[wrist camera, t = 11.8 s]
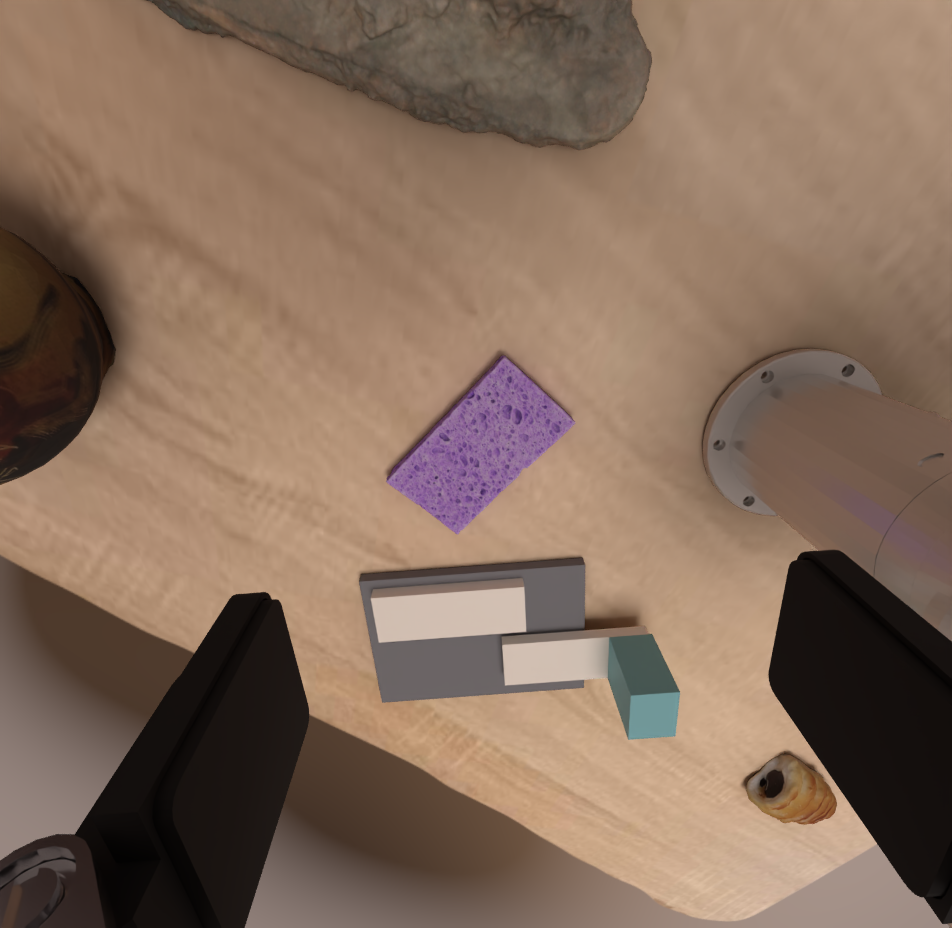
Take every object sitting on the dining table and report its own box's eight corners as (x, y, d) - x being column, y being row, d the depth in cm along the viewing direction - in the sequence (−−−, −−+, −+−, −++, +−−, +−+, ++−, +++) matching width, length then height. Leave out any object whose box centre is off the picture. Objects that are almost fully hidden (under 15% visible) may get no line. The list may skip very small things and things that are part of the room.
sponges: (571, 415, 38) (577, 424, 37) (455, 527, 42) (455, 539, 40) (503, 350, 36) (505, 355, 35) (387, 472, 40) (383, 483, 38)
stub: (648, 625, 44) (680, 692, 37) (645, 666, 46) (675, 736, 39) (501, 636, 44) (508, 704, 38) (504, 676, 46) (511, 748, 39)
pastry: (843, 780, 55) (869, 818, 51) (793, 816, 57) (815, 854, 53) (782, 745, 52) (805, 781, 49) (732, 783, 54) (751, 821, 51)
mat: (582, 557, 43) (585, 564, 42) (581, 679, 48) (583, 687, 47) (361, 574, 43) (359, 581, 42) (383, 693, 48) (382, 702, 47)
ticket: (522, 577, 42) (524, 586, 41) (525, 630, 44) (526, 640, 43) (373, 589, 42) (370, 598, 41) (382, 641, 44) (380, 651, 43)
